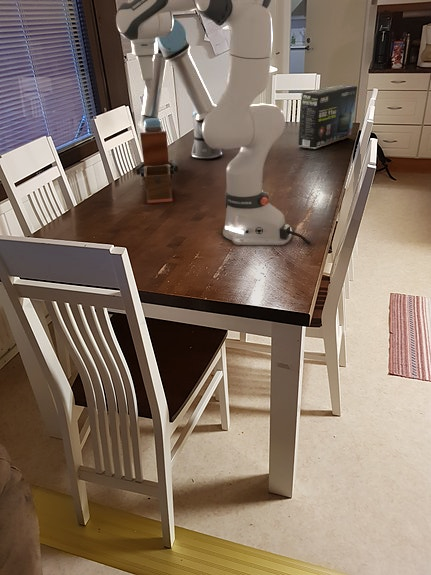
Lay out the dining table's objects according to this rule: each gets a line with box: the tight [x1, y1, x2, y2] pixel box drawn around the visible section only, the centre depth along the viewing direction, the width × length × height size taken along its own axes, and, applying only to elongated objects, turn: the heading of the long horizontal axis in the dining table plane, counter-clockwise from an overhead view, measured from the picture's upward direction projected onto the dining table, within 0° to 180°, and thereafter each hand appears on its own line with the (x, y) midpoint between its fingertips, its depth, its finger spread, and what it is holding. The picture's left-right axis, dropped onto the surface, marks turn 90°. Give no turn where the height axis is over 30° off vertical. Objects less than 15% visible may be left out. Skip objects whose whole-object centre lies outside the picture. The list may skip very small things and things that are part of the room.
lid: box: [139, 125, 170, 166], centre depth 180 cm, size 14×10×8 cm
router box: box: [297, 84, 358, 151], centre depth 238 cm, size 36×11×27 cm, turn 134°
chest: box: [143, 165, 174, 204], centre depth 180 cm, size 14×10×10 cm
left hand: (157, 175), depth 182 cm, fingers closed on chest, 10 cm apart
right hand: (149, 91), depth 164 cm, fingers open, 8 cm apart
